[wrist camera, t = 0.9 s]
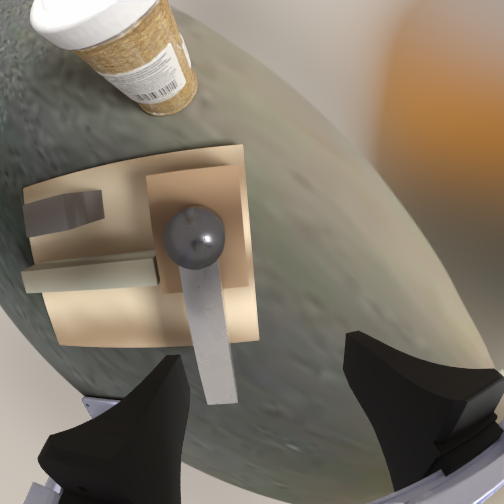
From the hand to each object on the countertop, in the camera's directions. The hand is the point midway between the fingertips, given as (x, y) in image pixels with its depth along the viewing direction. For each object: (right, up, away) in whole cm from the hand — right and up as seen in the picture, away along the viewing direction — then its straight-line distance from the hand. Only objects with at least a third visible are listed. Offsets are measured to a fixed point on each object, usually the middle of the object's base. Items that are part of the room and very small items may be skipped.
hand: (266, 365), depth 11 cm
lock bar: (-3, +1, +5) cm, 6 cm away
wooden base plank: (-10, +4, +8) cm, 13 cm away
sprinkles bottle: (-7, +16, +5) cm, 18 cm away
